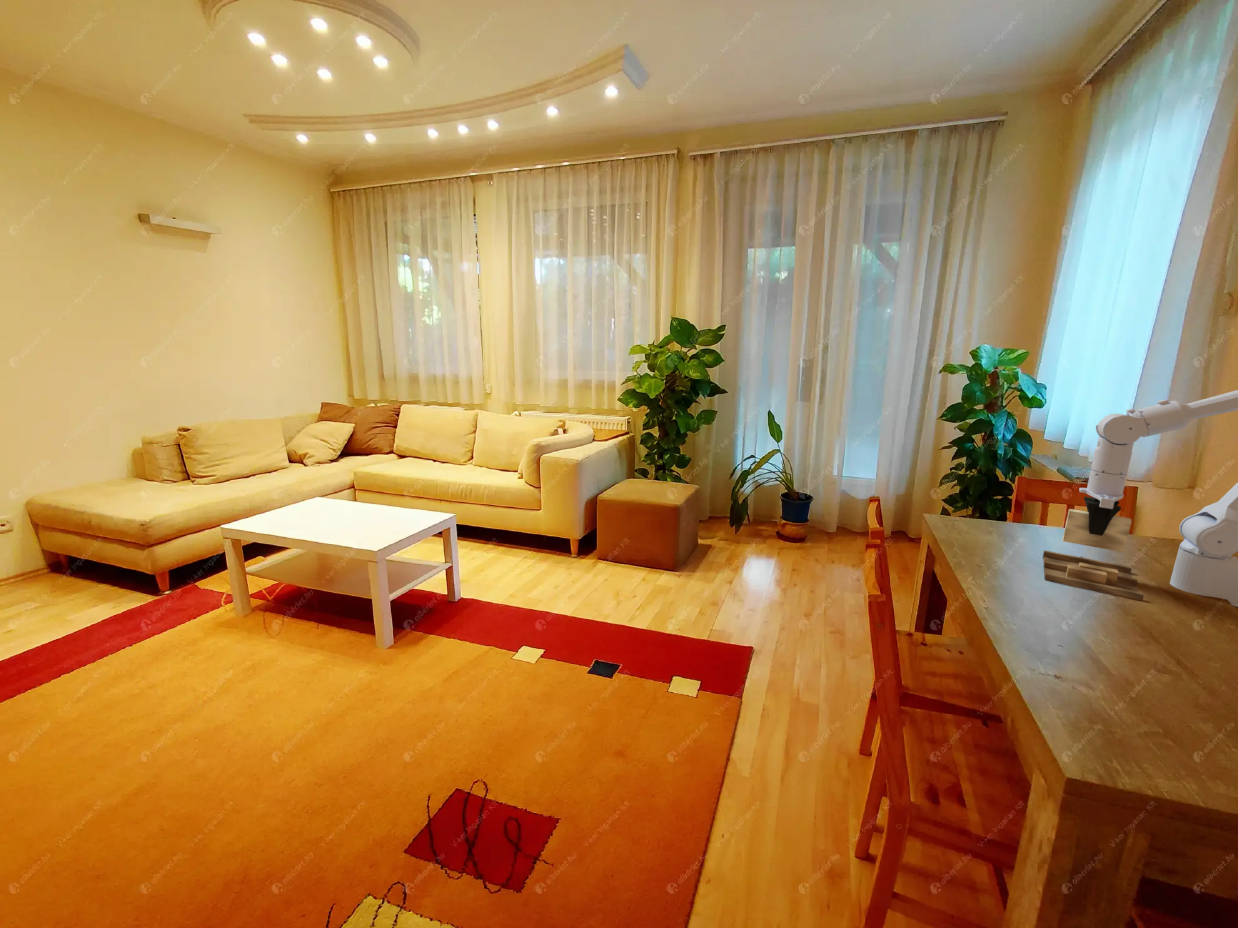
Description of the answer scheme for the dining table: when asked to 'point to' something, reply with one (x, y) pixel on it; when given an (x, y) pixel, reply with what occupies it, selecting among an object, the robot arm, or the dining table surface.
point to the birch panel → (1109, 540)
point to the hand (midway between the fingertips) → (1095, 532)
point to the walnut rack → (1057, 573)
